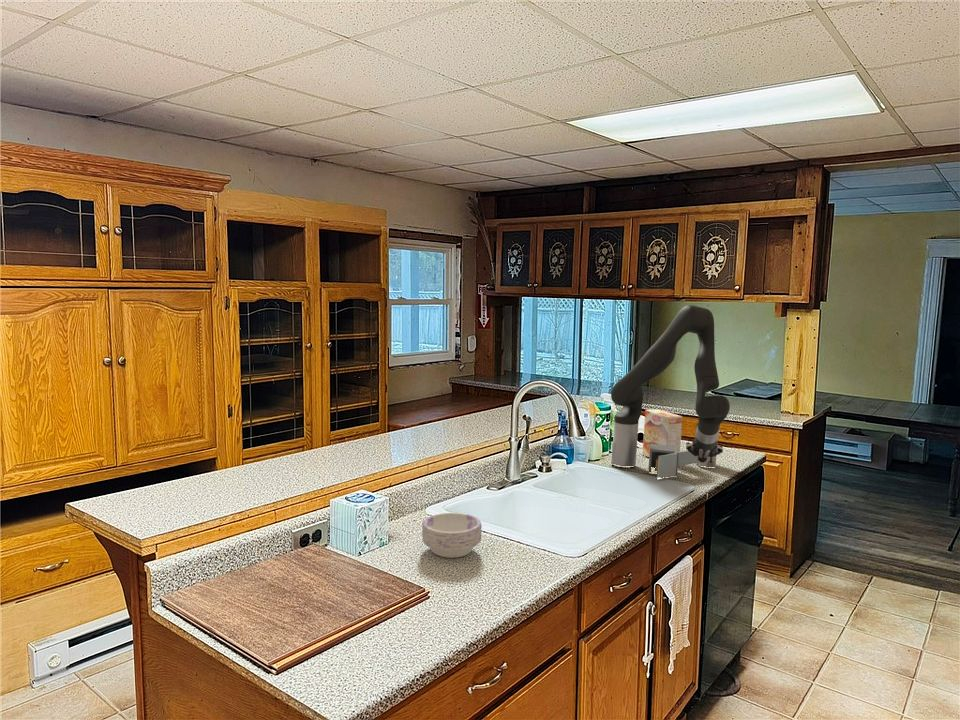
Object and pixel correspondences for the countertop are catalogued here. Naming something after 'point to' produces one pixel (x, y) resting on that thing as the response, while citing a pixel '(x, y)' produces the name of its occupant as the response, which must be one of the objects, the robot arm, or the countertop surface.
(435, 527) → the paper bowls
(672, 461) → the door
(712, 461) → the coffee box
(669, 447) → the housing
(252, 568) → the countertop surface
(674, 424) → the coffeecake box
